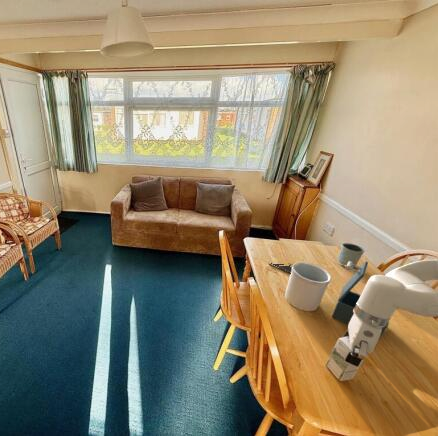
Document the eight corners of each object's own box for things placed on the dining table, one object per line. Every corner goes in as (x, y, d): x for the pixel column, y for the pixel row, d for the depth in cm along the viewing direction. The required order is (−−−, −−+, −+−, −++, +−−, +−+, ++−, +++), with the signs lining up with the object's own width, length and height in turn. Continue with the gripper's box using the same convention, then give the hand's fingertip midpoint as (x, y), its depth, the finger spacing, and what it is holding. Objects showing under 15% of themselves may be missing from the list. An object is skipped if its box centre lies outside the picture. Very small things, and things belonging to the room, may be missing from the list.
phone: (273, 257, 142) (300, 268, 132) (273, 258, 142) (299, 270, 132) (268, 262, 137) (295, 274, 127) (267, 263, 138) (294, 275, 127)
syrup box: (353, 379, 77) (371, 350, 71) (338, 382, 77) (355, 353, 71) (338, 362, 83) (353, 334, 77) (324, 365, 82) (338, 337, 76)
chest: (381, 322, 99) (390, 306, 95) (379, 339, 91) (388, 324, 88) (337, 302, 109) (343, 288, 106) (331, 317, 101) (338, 302, 98)
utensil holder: (307, 317, 101) (319, 286, 94) (276, 296, 113) (285, 267, 106) (325, 305, 107) (338, 276, 100) (294, 286, 119) (304, 258, 112)
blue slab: (368, 262, 97) (352, 254, 100) (364, 275, 89) (347, 266, 92) (345, 288, 105) (331, 280, 109) (339, 301, 97) (325, 293, 101)
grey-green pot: (335, 265, 137) (342, 248, 132) (334, 257, 144) (341, 241, 139) (357, 271, 131) (366, 253, 127) (355, 263, 139) (363, 246, 134)
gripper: (395, 341, 60) (368, 382, 67) (381, 301, 73) (360, 338, 80) (358, 327, 63) (337, 367, 71) (351, 291, 77) (334, 328, 84)
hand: (349, 352), depth 75 cm, fingers open, 8 cm apart
